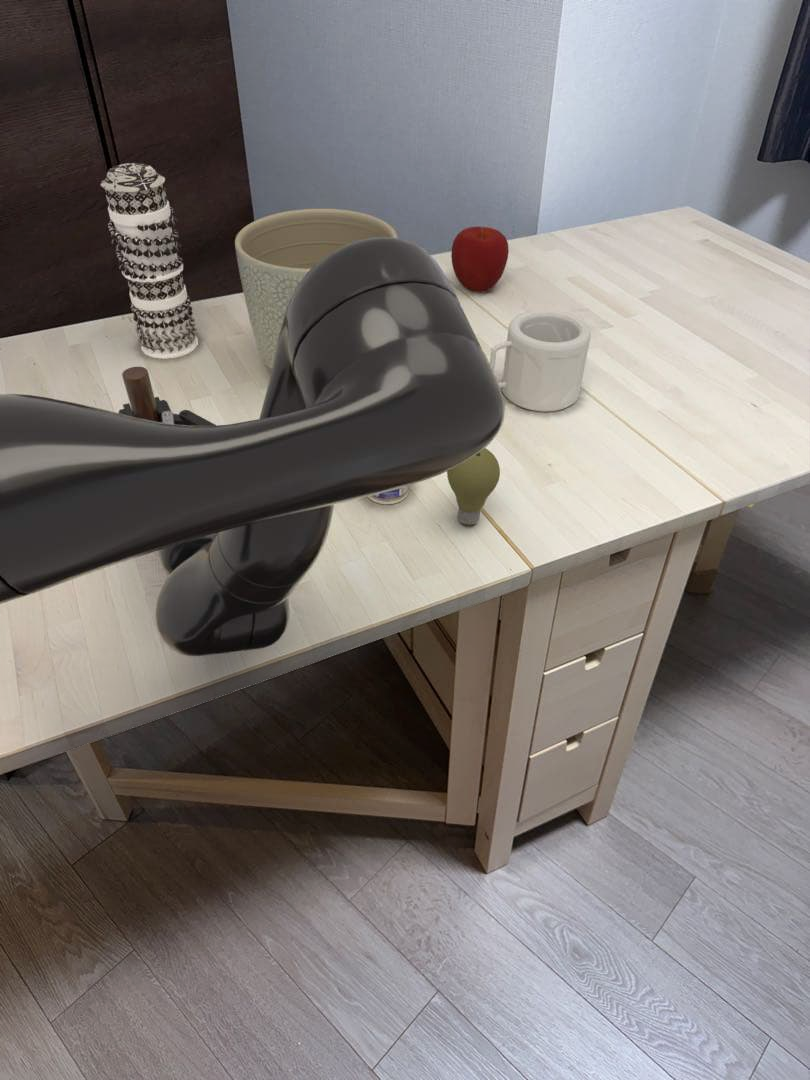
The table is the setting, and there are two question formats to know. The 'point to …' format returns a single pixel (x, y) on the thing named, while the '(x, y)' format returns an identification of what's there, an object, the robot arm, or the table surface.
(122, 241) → the white patterned cylinder
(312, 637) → the table surface
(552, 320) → the mug
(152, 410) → the wooden peg
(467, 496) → the light bulb
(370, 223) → the planter
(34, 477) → the robot arm
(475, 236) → the apple
